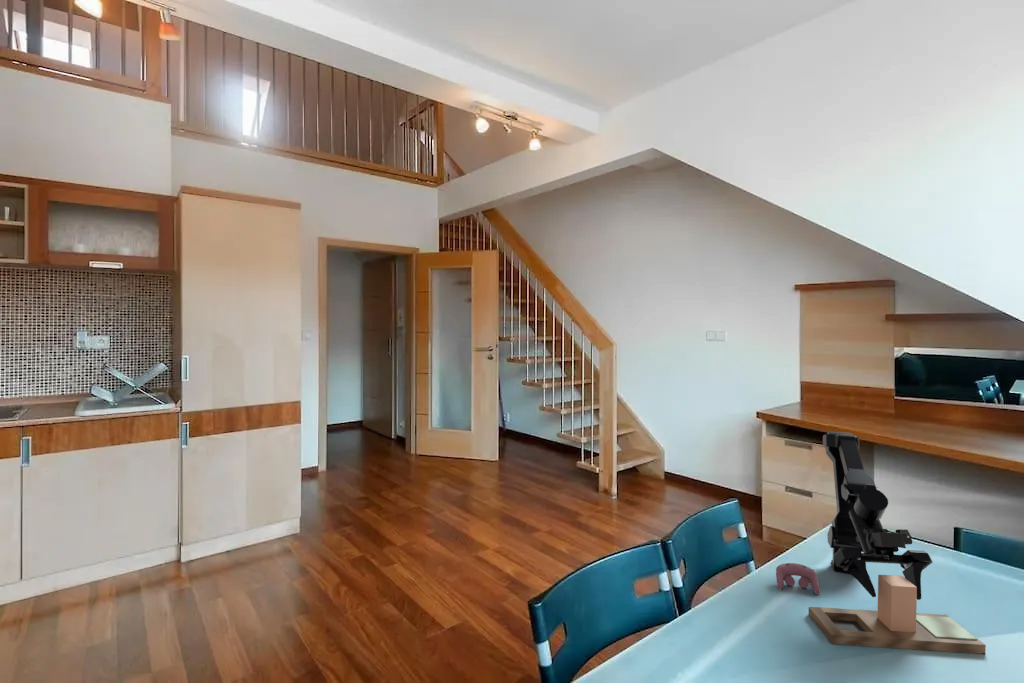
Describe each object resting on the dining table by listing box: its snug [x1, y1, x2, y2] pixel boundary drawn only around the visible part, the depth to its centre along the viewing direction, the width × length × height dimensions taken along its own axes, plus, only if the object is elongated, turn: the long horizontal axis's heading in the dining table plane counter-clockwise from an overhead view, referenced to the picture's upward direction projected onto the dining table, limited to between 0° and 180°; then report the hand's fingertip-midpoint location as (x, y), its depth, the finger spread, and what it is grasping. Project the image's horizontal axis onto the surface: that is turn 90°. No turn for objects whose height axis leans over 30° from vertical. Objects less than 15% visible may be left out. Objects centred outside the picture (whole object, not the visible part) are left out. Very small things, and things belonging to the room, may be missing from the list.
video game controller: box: [775, 562, 821, 596], centre depth 133 cm, size 10×5×7 cm, turn 71°
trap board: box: [808, 606, 986, 654], centre depth 113 cm, size 30×11×2 cm, turn 83°
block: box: [877, 574, 918, 632], centre depth 113 cm, size 5×5×10 cm
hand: (896, 598), depth 112 cm, fingers open, 9 cm apart
